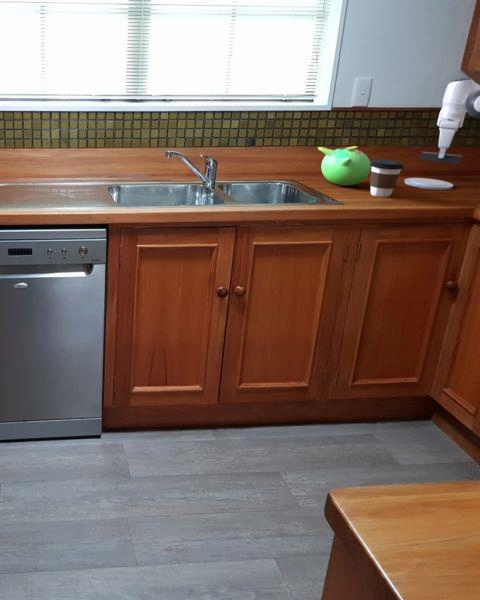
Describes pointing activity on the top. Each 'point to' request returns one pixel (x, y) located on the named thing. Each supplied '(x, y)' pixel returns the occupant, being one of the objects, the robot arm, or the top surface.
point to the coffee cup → (384, 176)
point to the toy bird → (345, 165)
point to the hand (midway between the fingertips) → (441, 156)
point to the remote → (447, 158)
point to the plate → (428, 183)
